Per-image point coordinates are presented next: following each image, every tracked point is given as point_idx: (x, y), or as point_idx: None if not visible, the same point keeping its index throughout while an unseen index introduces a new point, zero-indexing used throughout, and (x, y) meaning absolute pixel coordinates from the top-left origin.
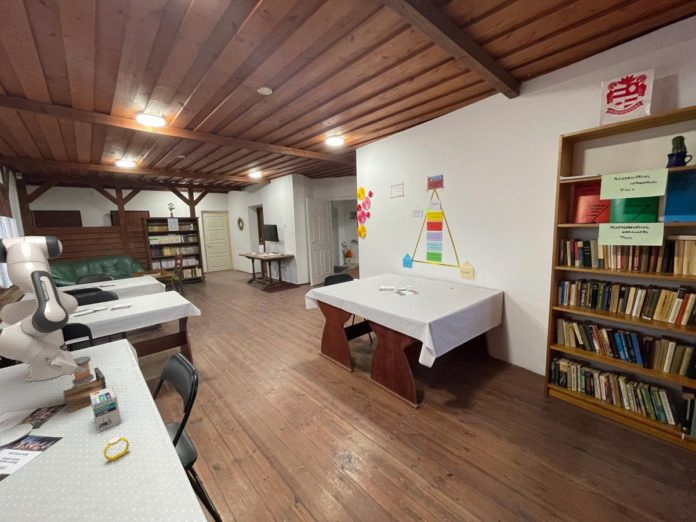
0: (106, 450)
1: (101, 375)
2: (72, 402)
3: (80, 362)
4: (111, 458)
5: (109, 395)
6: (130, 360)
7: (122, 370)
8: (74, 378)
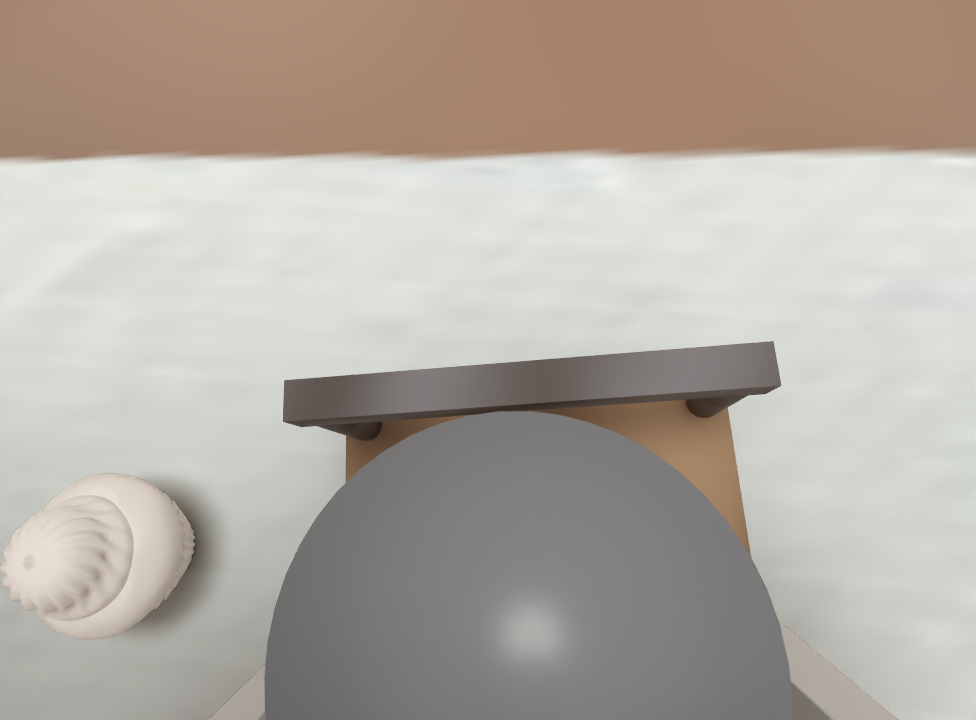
0: None
1: (688, 370)
2: None
3: (782, 683)
4: None
5: None
6: (19, 164)
7: (179, 240)
8: (100, 621)
